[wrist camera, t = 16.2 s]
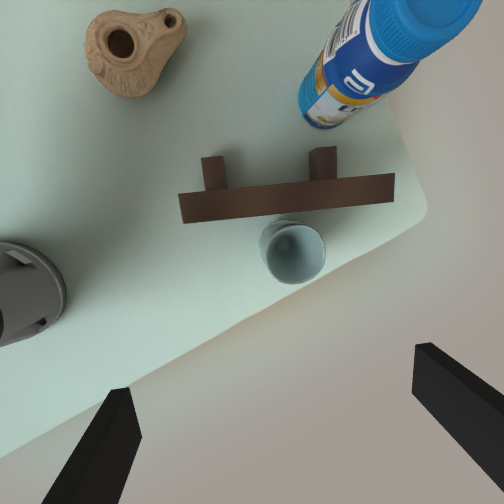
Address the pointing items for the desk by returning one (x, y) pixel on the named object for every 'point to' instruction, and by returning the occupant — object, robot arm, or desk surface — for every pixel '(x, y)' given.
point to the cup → (292, 251)
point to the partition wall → (283, 192)
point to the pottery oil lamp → (132, 48)
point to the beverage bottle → (376, 54)
